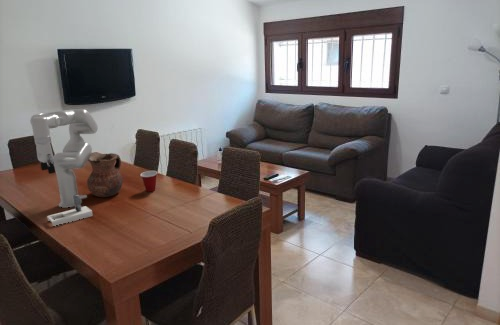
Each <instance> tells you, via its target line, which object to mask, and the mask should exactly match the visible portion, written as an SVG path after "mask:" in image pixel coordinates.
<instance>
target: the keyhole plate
mask: <svg viewBox="0 0 500 325" xmlns="http://www.w3.org/2000/svg"><path fill="white" fill-rule="evenodd" d="M93 215H94V214H93V210H92V209H91V208H89V207H88V206H86V205H85V206H84V205H83V206H81V211H80V212H77V210H75V208H72V209H70V210H65V211H62V212H58V213H54V214H50V215H47V216H46V219H47V222H48V221H50V222H51V225H52V227H53V226H55V227H57V226H56V225H58V226H60V225H59V224H62V225H64V224H63V223H66V224H69V223H72V221H73V222H75V221H80V220H83V218H84V219H87V218H90V217H93ZM54 219H55V220H54ZM79 219H80V220H79ZM68 222H69V223H68Z"/></svg>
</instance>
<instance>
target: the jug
mask: <svg viewBox="0 0 500 325" xmlns="http://www.w3.org/2000/svg"><path fill="white" fill-rule="evenodd" d="M87 162H88V163H89V164H90V165H91V168H92V172H91V173H90V174H89V176H88V177H87V181H86V182H87V183H86V186H87V189H88V191H89V192H90V193H91V194H92V195H93V196H95V197H99V198H108V197H109V198H110V197H112V196H115V195H117V194H118V193H119V192H120V191H121V189H122V186H123V183H124V182H123V179H124V178H123V176H122V174H121V173H120V168H121V166H122V165H121V164H122V160H121V157H120V156H119V154H116V153H112V152H111V153H102V154H91V156H90V158H89V159H88V161H87Z"/></svg>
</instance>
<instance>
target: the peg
mask: <svg viewBox="0 0 500 325" xmlns="http://www.w3.org/2000/svg"><path fill="white" fill-rule="evenodd" d="M73 198H74V204H75V206H74V209H75V210H77V212H80V211H81V207H82V203H80V194H78V195H74V196H73Z"/></svg>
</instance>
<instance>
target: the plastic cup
mask: <svg viewBox="0 0 500 325" xmlns="http://www.w3.org/2000/svg"><path fill="white" fill-rule="evenodd" d="M157 176H158V171H157V170H147V171H144V172H141V173H140V177H141V178H142V181H143V186H144V188H145V191H146V192H148V193H150V192H151V193H152V192H155V191H156V187H157V186H156V185H157Z"/></svg>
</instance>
